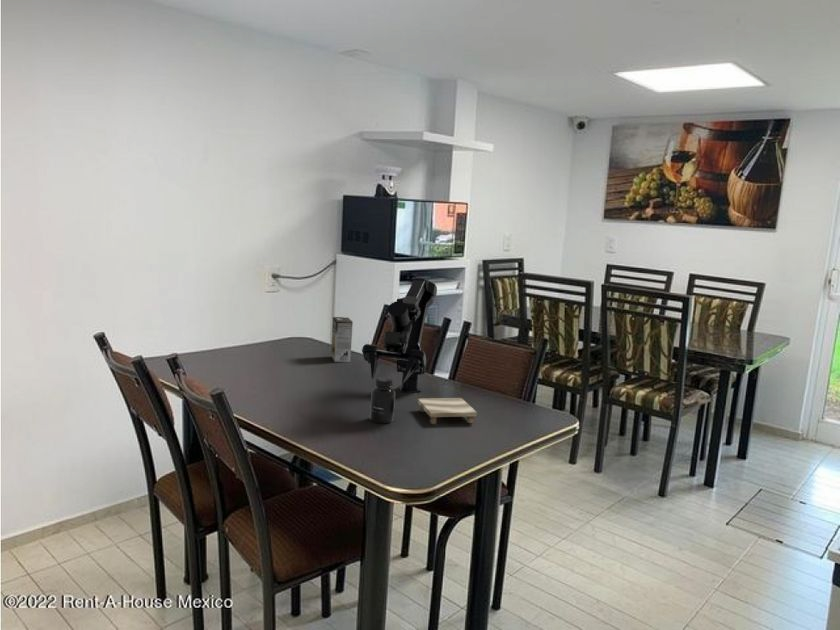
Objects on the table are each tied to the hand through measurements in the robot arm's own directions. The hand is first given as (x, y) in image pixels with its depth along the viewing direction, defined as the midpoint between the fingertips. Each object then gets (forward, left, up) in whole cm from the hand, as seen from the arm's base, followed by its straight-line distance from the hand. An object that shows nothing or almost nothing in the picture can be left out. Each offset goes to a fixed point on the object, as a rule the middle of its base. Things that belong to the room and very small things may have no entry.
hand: (387, 380), depth 185 cm
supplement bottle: (+3, -2, -11) cm, 12 cm away
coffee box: (-70, -3, -11) cm, 71 cm away
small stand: (+1, +18, -11) cm, 21 cm away
